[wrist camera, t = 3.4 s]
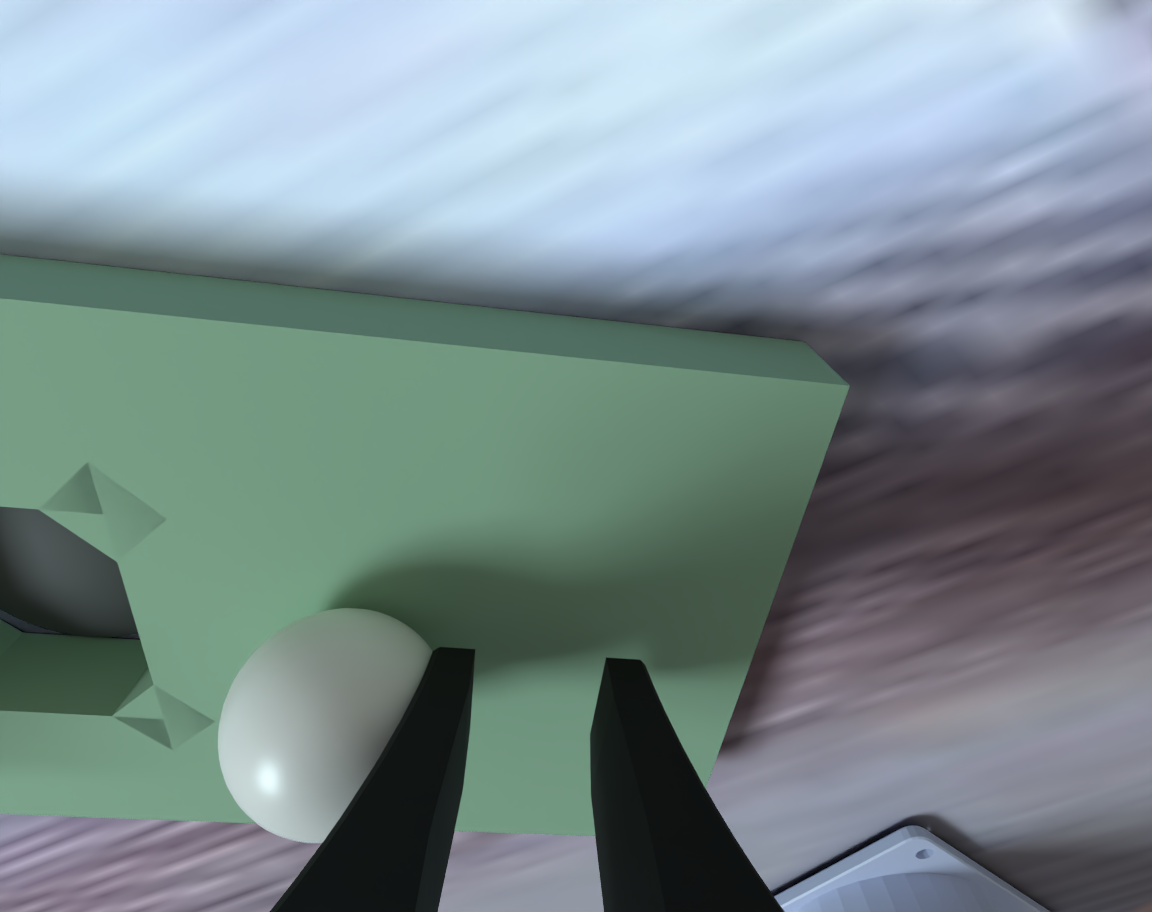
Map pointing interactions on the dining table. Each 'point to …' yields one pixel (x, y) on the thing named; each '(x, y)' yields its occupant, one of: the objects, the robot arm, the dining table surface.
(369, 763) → the golf ball
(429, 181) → the dining table surface
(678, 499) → the putting mat
